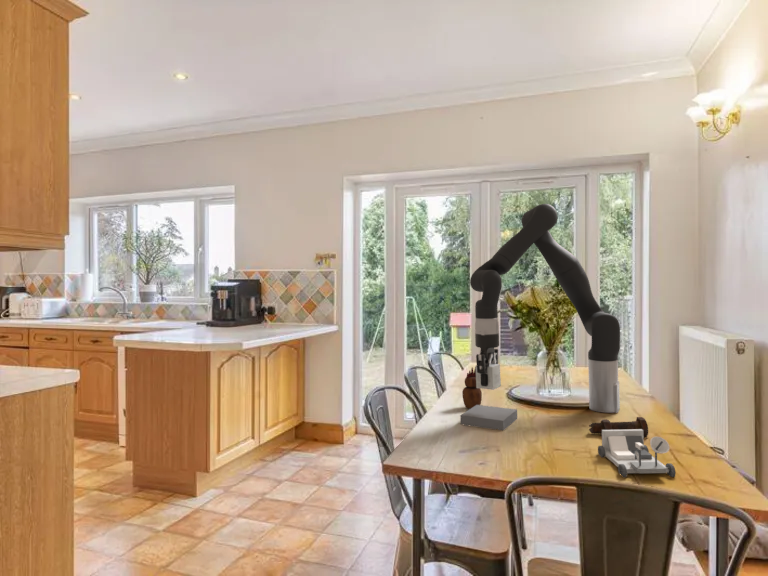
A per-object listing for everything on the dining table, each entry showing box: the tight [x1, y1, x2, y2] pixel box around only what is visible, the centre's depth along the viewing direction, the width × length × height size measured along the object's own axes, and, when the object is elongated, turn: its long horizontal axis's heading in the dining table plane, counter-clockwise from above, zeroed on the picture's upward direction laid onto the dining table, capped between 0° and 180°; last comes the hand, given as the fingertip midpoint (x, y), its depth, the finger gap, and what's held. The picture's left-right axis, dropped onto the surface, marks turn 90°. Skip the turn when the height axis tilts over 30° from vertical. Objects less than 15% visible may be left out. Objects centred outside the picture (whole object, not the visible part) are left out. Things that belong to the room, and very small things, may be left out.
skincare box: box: [474, 363, 502, 391], centre depth 157 cm, size 6×6×7 cm
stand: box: [459, 404, 518, 431], centre depth 157 cm, size 14×14×3 cm
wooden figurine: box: [461, 367, 483, 410], centre depth 174 cm, size 7×6×15 cm
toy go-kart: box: [597, 429, 676, 478], centre depth 117 cm, size 18×10×12 cm
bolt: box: [588, 416, 649, 438], centre depth 141 cm, size 6×5×15 cm
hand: (488, 383), depth 157 cm, fingers closed on skincare box, 6 cm apart
